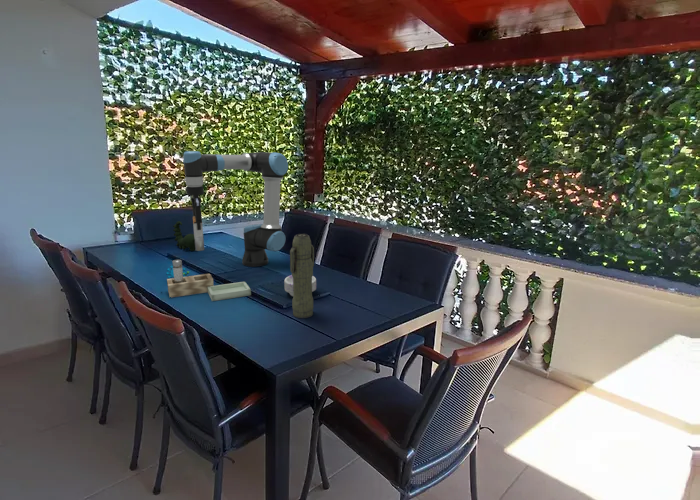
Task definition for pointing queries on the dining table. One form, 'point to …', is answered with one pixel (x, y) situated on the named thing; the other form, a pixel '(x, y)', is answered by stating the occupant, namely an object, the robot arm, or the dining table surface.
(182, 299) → the dining table surface
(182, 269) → the teal spiky toy
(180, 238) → the toy figurine
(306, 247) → the thermos
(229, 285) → the tray
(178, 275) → the grey capped shaker
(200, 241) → the hitch pin
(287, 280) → the paper bowls
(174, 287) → the block
